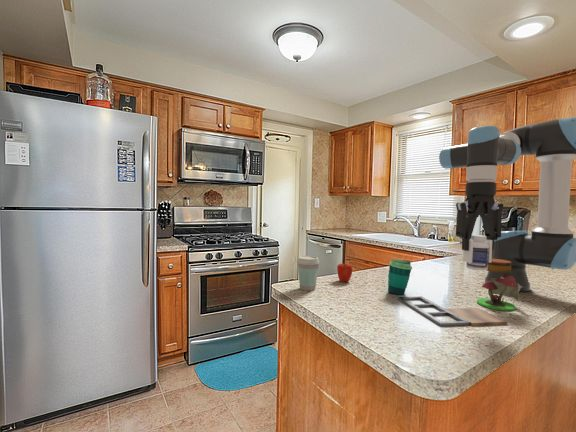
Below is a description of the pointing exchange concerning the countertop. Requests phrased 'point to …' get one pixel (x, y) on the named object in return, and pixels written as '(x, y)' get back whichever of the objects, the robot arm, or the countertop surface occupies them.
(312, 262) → the coffee cup
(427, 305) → the gray rectangular frame
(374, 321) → the countertop surface
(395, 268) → the cup
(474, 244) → the pill bottle
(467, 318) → the coaster
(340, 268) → the red bell pepper
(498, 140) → the robot arm
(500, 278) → the mushroom toy
